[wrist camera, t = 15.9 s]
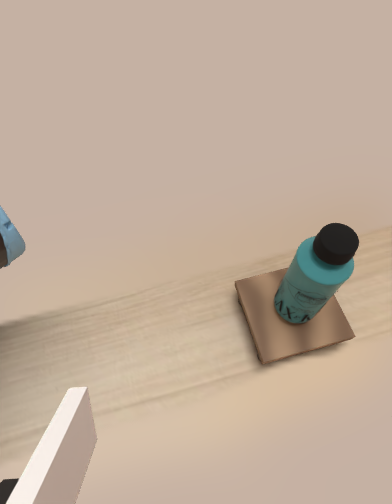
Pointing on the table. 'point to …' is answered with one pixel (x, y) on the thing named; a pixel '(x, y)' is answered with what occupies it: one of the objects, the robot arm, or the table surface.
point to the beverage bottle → (316, 273)
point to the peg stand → (282, 331)
